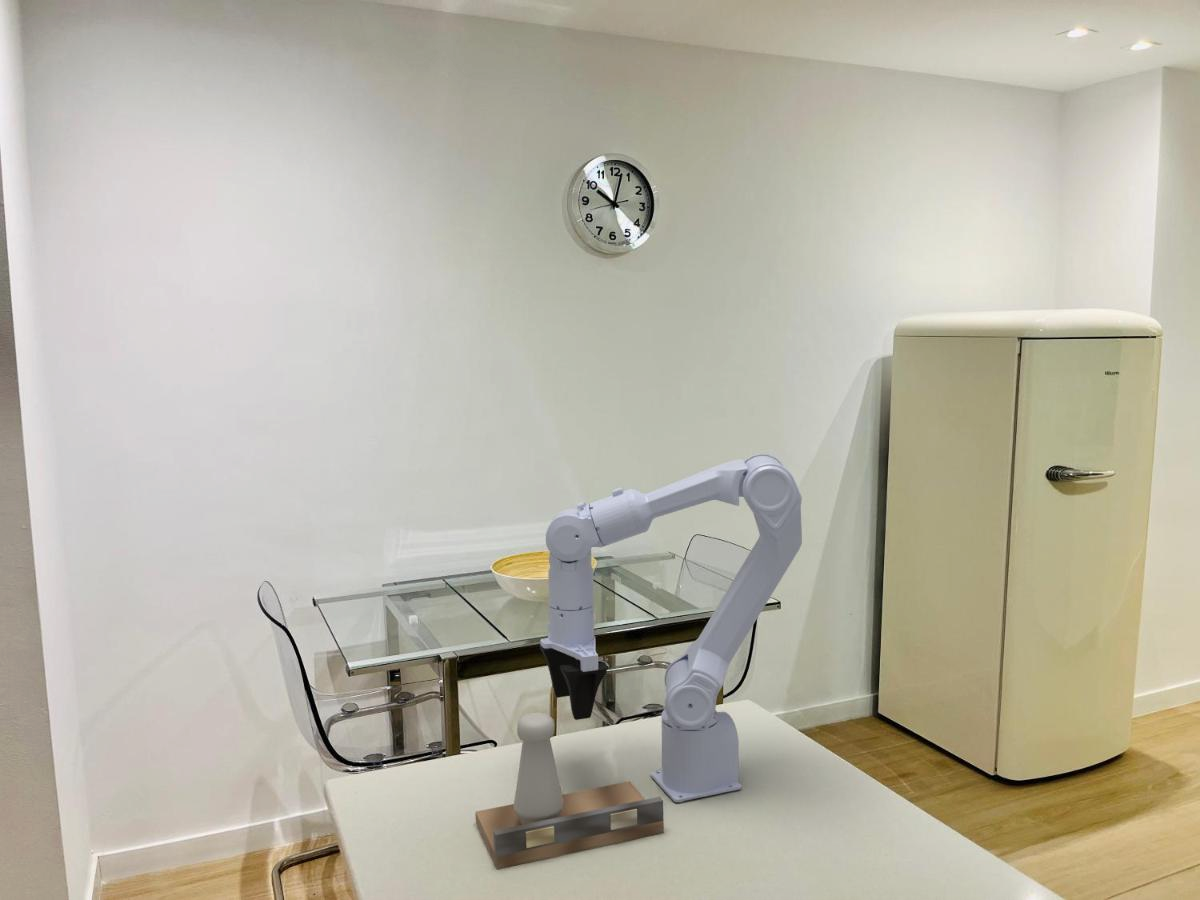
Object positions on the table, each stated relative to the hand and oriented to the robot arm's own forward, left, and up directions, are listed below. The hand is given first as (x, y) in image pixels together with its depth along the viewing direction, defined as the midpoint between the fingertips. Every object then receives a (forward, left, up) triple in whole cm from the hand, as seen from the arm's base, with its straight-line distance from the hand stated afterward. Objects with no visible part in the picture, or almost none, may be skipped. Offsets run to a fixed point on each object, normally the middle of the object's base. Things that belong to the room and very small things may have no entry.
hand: (572, 706), depth 120 cm
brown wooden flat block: (+4, +10, -10) cm, 15 cm away
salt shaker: (+8, +11, -9) cm, 16 cm away
